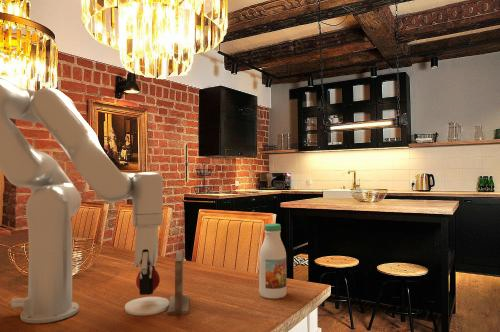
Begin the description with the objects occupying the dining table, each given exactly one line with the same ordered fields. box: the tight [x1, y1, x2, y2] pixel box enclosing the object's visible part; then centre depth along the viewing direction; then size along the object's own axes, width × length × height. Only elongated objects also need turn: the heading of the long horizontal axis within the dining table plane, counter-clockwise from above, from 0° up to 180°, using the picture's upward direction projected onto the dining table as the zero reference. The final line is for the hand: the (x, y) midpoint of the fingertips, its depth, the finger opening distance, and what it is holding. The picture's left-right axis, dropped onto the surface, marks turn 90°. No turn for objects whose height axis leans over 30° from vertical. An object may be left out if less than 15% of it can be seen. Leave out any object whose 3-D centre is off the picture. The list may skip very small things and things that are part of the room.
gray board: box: [167, 250, 190, 316], centre depth 97 cm, size 5×12×13 cm, turn 9°
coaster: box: [124, 296, 170, 317], centre depth 96 cm, size 11×11×1 cm
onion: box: [135, 264, 161, 292], centre depth 96 cm, size 6×6×8 cm
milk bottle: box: [258, 223, 287, 300], centre depth 106 cm, size 8×8×20 cm
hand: (148, 289), depth 96 cm, fingers closed on onion, 5 cm apart
